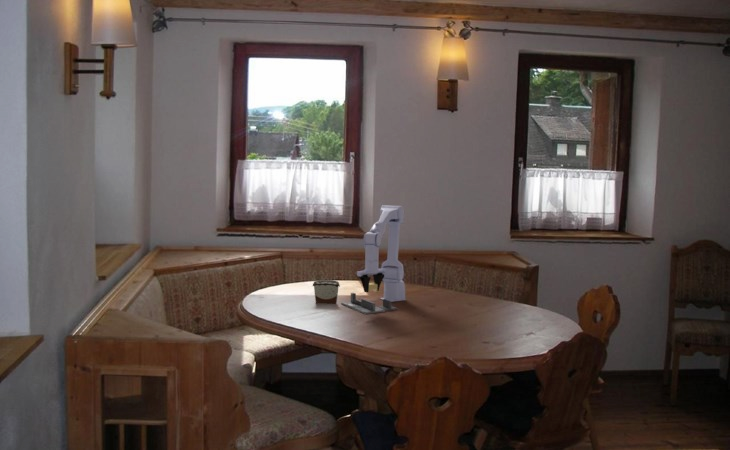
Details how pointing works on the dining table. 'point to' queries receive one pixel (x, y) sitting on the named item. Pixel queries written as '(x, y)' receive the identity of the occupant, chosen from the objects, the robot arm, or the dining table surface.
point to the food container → (326, 291)
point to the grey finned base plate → (387, 305)
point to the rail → (362, 305)
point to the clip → (373, 287)
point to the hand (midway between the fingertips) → (371, 291)
